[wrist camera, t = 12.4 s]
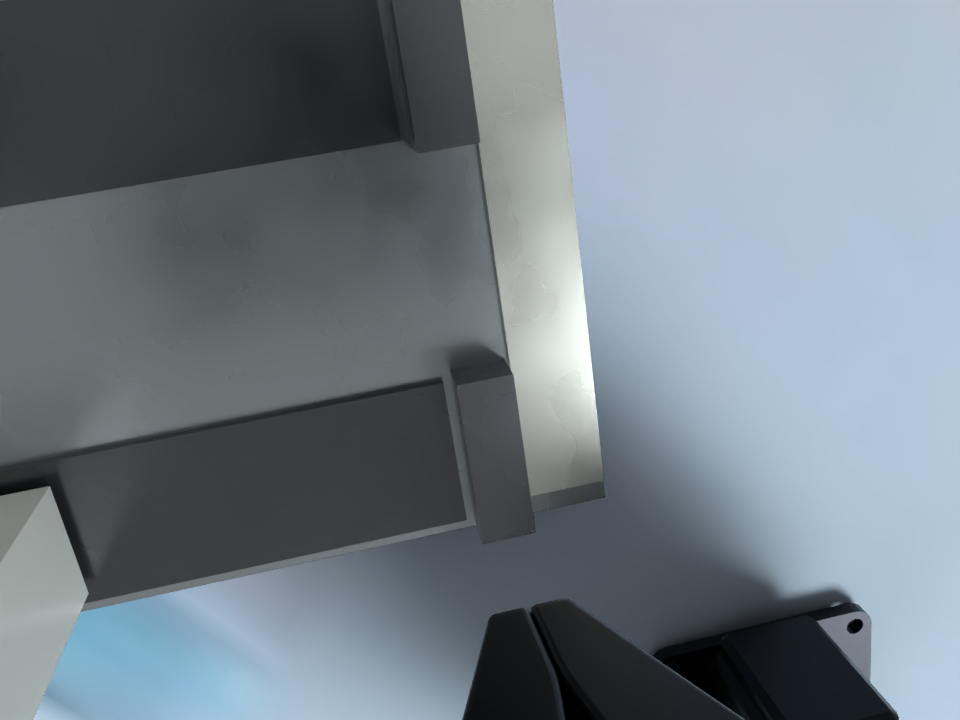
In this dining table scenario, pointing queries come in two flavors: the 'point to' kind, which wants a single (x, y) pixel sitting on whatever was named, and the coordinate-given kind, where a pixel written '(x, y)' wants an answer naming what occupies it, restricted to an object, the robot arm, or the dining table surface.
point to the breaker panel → (287, 280)
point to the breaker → (34, 598)
